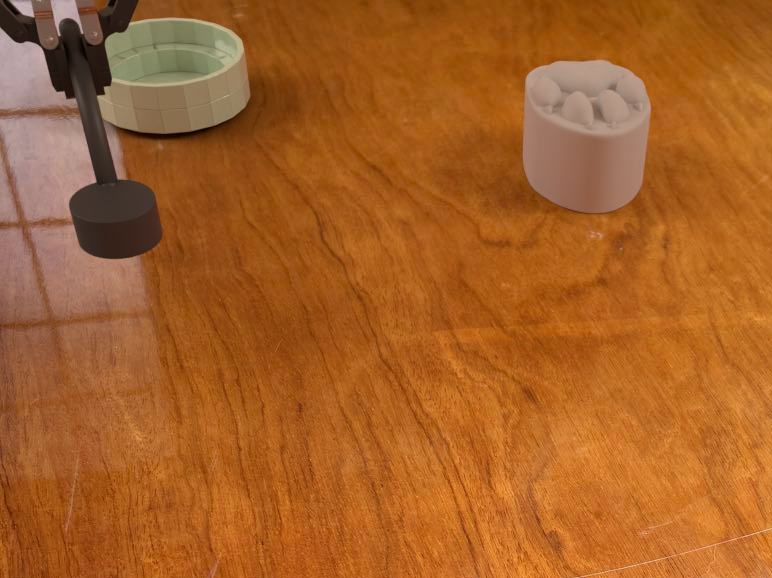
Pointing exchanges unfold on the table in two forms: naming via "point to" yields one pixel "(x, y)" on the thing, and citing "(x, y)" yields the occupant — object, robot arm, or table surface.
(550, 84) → the lumpy-topped squat cylinder
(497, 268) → the table surface
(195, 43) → the bowl
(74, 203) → the ladle
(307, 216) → the table surface
